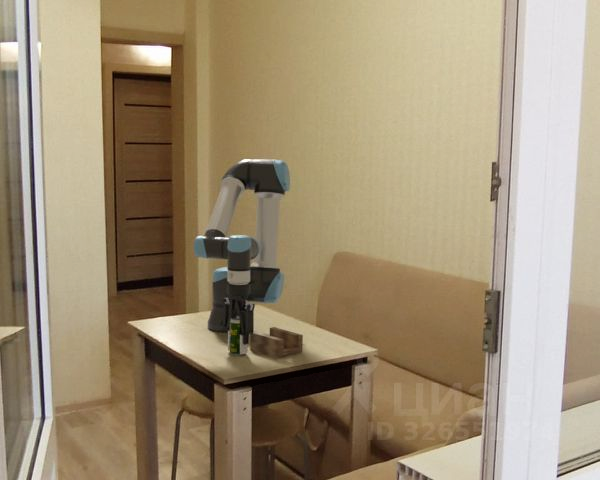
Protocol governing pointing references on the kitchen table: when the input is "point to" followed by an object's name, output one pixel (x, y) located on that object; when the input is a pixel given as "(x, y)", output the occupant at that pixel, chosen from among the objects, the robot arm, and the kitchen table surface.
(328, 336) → the kitchen table surface
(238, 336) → the beer can
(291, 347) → the slot block
